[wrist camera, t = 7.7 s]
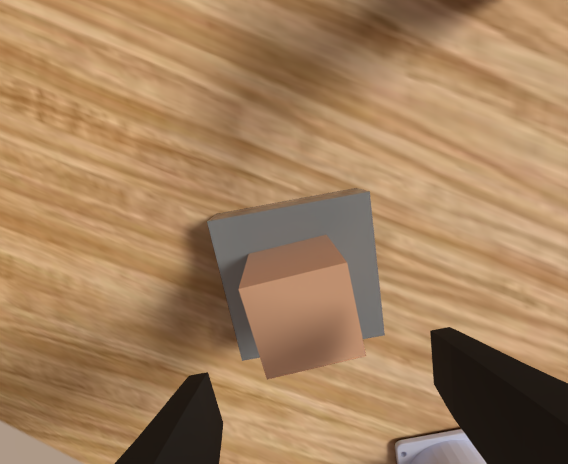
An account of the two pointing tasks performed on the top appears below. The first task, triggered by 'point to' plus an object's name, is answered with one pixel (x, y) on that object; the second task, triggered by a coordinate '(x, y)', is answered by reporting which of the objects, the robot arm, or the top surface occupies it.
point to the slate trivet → (292, 228)
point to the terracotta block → (301, 307)
